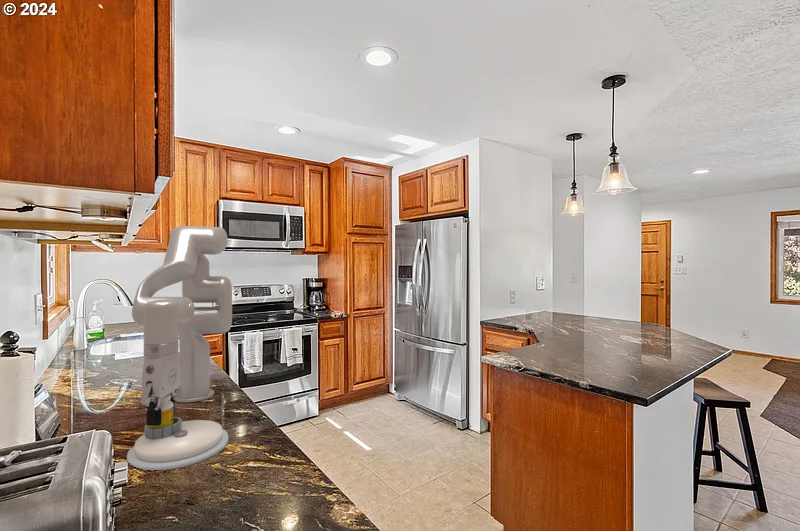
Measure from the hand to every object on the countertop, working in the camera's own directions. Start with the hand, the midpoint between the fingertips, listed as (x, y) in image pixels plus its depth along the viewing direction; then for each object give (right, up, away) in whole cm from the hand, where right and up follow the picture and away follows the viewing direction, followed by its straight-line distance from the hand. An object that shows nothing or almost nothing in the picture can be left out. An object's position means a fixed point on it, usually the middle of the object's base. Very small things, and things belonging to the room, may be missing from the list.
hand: (161, 419), depth 97 cm
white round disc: (+6, -6, -1) cm, 8 cm away
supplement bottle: (0, -4, 0) cm, 4 cm away
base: (+6, -7, -1) cm, 9 cm away
